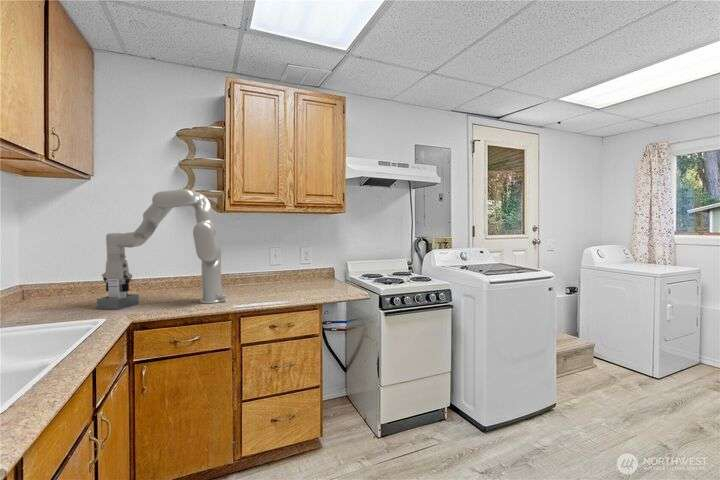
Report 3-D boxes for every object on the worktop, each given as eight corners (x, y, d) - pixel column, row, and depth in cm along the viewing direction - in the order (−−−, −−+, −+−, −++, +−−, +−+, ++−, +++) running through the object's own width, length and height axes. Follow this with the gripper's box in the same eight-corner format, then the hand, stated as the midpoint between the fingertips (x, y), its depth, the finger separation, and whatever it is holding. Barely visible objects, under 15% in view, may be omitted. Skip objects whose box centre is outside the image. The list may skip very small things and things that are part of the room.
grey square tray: (139, 303, 184) (138, 294, 183) (118, 309, 172) (117, 299, 171) (119, 302, 186) (118, 293, 186) (97, 308, 174) (96, 298, 174)
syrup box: (120, 307, 176) (118, 278, 175) (109, 307, 176) (107, 278, 176) (128, 304, 181) (127, 277, 181) (117, 304, 182) (116, 277, 181)
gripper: (136, 257, 179) (138, 290, 180) (108, 256, 183) (110, 289, 184) (124, 258, 172) (125, 293, 173) (95, 258, 176) (96, 292, 176)
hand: (117, 291), depth 178 cm, fingers open, 9 cm apart
